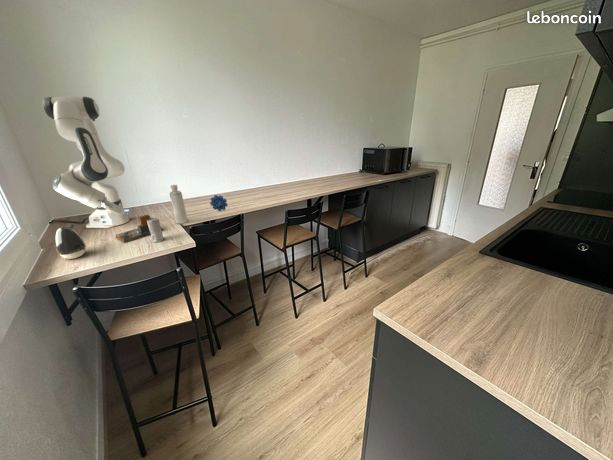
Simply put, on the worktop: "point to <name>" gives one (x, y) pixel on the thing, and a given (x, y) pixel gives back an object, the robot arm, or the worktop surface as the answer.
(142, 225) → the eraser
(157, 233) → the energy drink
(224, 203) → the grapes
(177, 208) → the white bottle
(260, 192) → the worktop surface
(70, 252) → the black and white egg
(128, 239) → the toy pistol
